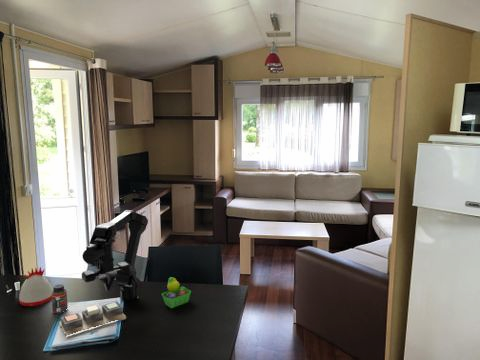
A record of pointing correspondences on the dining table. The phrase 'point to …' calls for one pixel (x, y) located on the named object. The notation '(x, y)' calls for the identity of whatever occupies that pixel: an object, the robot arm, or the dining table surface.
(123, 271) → the robot arm
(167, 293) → the fruit basket
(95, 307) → the button cream
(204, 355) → the dining table surface
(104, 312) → the button panel
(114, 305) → the button sage
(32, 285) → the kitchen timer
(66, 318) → the button terracotta
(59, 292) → the supplement bottle
